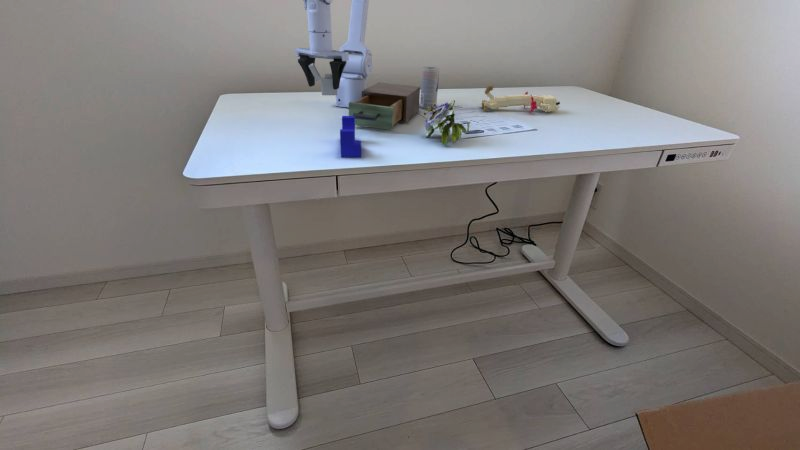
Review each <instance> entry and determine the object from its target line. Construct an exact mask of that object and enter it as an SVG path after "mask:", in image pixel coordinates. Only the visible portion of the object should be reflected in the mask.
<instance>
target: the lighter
mask: <svg viewBox="0 0 800 450" xmlns="http://www.w3.org/2000/svg"><path fill="white" fill-rule="evenodd" d="M309 68H310V70H311V72H312V74H313V76H314V77H315V82H317V81H319V80H320V87H321V96H336V95H337V89H336V90H335V89H333V80H332V73H325V74H324V77H322V76H321V75H320V73H319V71H318V69H317V67H316V65H314V63H312V64H310V65H309Z"/></svg>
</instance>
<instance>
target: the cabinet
mask: <svg viewBox="0 0 800 450" xmlns="http://www.w3.org/2000/svg"><path fill="white" fill-rule="evenodd" d="M366 95H374V96H383V97H391V98H400V99H404V113H403V118H402V119H401V120H399V121H398V122H397V123H399V124H407V123H408V122H409V121H410V120H411V119H412V118H413V117H415V116H416V115H417V114H418V113H419V112H420V98H421V86H416V85H415V86H414V85H405V84H397V83H389V82H388V83H387V82H376V83H374V84H372V85H371V86H369V87H366V89H365V90H363V91H362V98H363V97H364V96H366Z"/></svg>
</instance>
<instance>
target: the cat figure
mask: <svg viewBox="0 0 800 450" xmlns="http://www.w3.org/2000/svg"><path fill="white" fill-rule="evenodd" d="M493 90H494V86H493V85H492V84H490V85H489V84H488V86H487V87H486V88H485V90H484V95H486V97H487V98H489V100H486V99H485V98H484V99H481V109H483V112H488V109H489V108H490V110H498V109H501V108H508V107H521V106H522V107H523V108H524V109H523V110H526V107H530V110H529V111H528V113H529V114H531V113H532V112H533V111H534V110H537V109H538V108H539V109H540V110H541V111H543V112H545V113H547V112H548V113H549V112H554V111H558V109H559V108H561V106H560V105H561V102H560V101H559V100H558V99H557V98H556V97H555V96H553V95H551V94H544V95H543V94H542V95H538V94H535V95H534V94H530V95H529V91H525V93H524V94H512V95H504V96H494V95H493V94H492V93H491V92H492V91H493Z"/></svg>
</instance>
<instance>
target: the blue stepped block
mask: <svg viewBox="0 0 800 450" xmlns="http://www.w3.org/2000/svg"><path fill="white" fill-rule="evenodd" d="M339 141H340V142H339V143H340V158H362V140H356V125H355V116H349V115H341V129H339Z"/></svg>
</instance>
